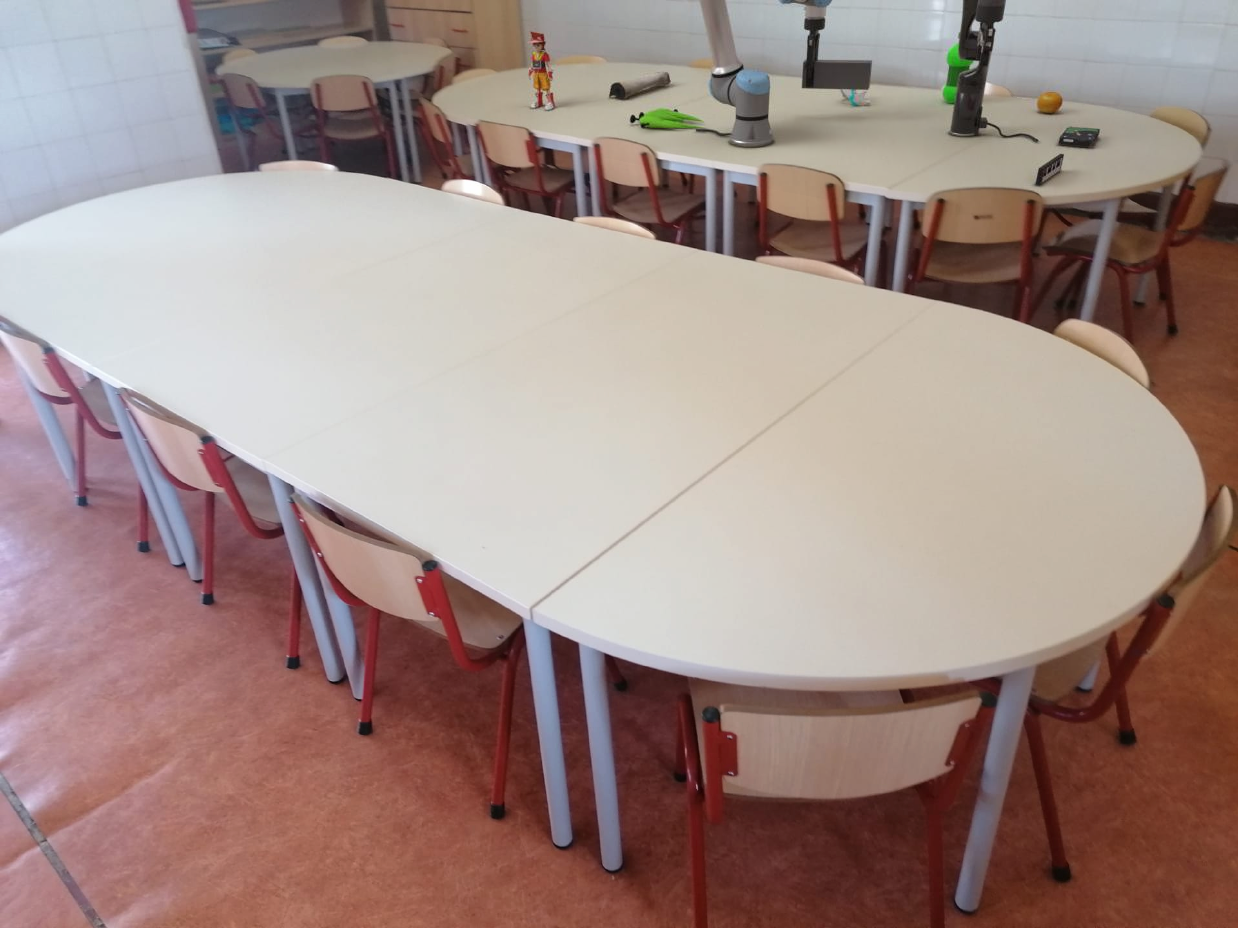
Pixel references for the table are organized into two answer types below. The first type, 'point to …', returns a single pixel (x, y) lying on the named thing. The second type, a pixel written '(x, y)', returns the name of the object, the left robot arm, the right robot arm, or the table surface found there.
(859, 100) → the anatomical model
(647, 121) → the toy
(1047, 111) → the fruit
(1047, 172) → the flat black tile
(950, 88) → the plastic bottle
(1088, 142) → the disk drive
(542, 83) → the toy
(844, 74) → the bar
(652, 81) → the rolled mat
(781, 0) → the left robot arm
